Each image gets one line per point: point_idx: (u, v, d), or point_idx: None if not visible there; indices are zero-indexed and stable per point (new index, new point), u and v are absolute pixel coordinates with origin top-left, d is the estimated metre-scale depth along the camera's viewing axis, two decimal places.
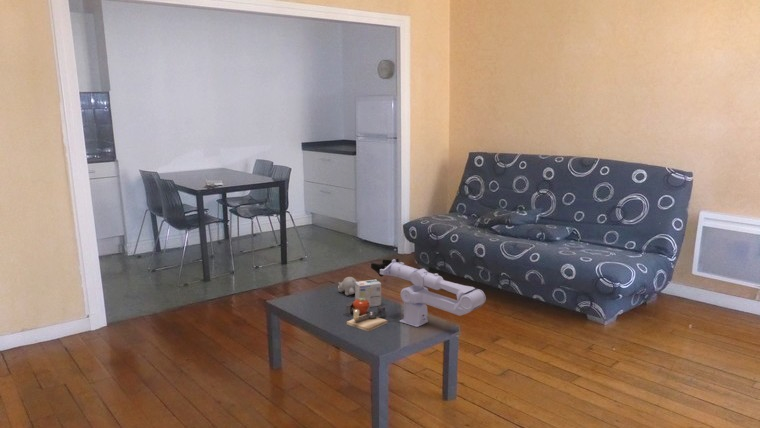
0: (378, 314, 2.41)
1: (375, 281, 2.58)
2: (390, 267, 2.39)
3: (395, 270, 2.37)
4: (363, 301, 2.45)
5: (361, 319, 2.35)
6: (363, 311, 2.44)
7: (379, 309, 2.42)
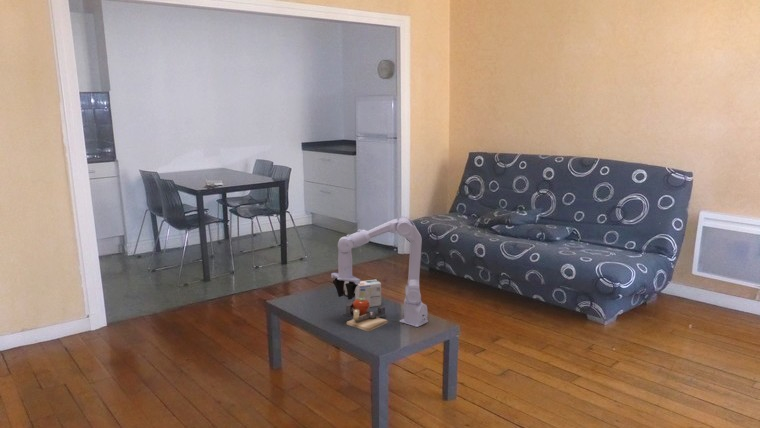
0: (378, 314, 2.41)
1: (375, 281, 2.58)
2: (347, 277, 2.33)
3: (348, 270, 2.32)
4: (363, 301, 2.45)
5: (361, 319, 2.35)
6: (363, 311, 2.44)
7: (379, 309, 2.42)
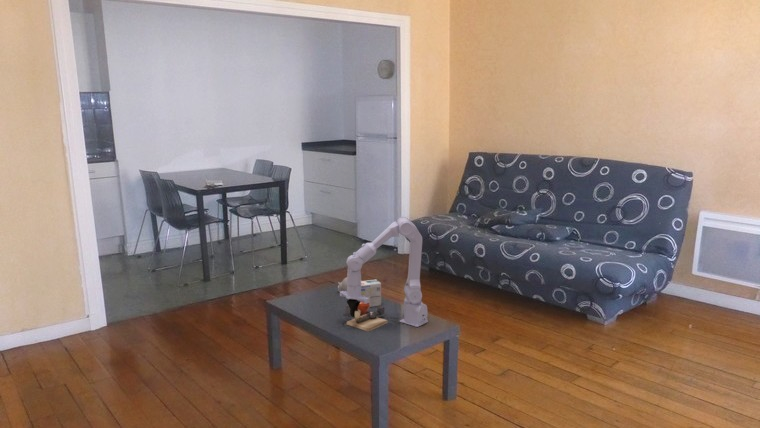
0: (378, 314, 2.41)
1: (375, 281, 2.58)
2: (356, 296, 2.31)
3: (357, 289, 2.30)
4: None
5: (362, 319, 2.35)
6: (363, 311, 2.44)
7: (379, 309, 2.42)
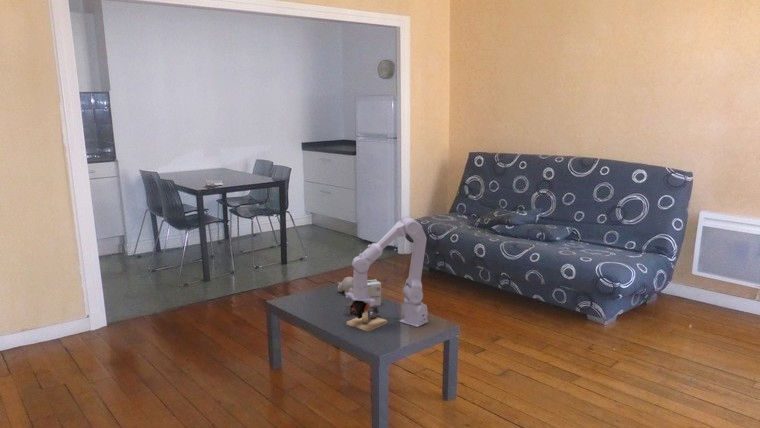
0: (375, 313, 2.42)
1: (375, 281, 2.58)
2: (363, 298, 2.29)
3: (364, 291, 2.28)
4: None
5: (368, 320, 2.34)
6: None
7: (375, 308, 2.43)
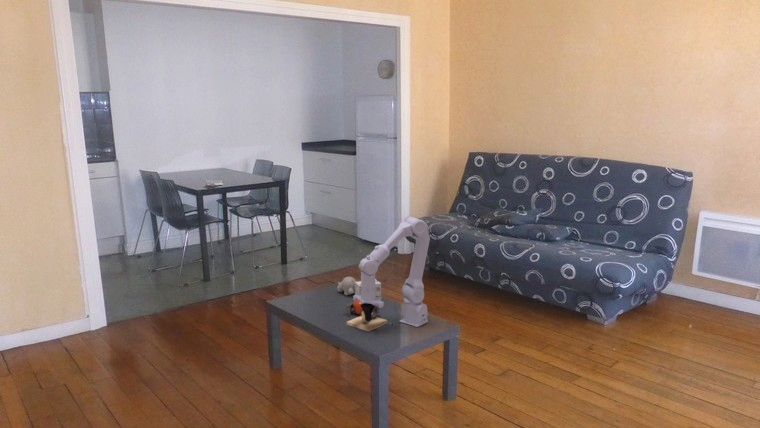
0: (375, 313, 2.42)
1: (375, 281, 2.58)
2: (371, 300, 2.26)
3: (372, 293, 2.26)
4: None
5: None
6: None
7: (375, 308, 2.43)
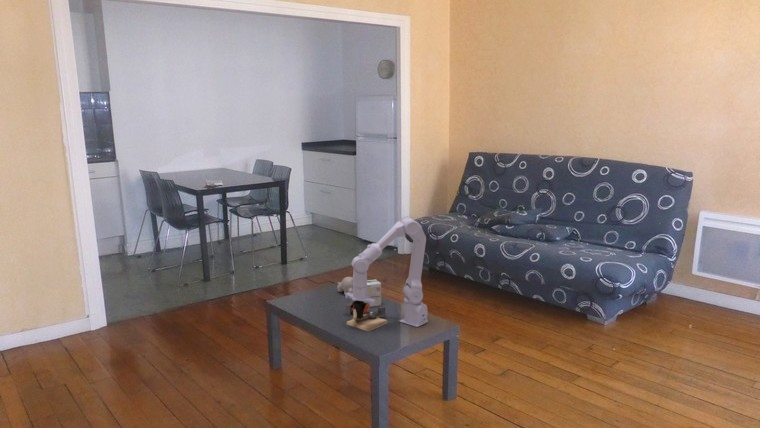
0: (378, 314, 2.41)
1: (375, 281, 2.58)
2: (362, 298, 2.29)
3: (363, 291, 2.28)
4: None
5: (361, 319, 2.35)
6: (363, 311, 2.44)
7: (379, 309, 2.42)
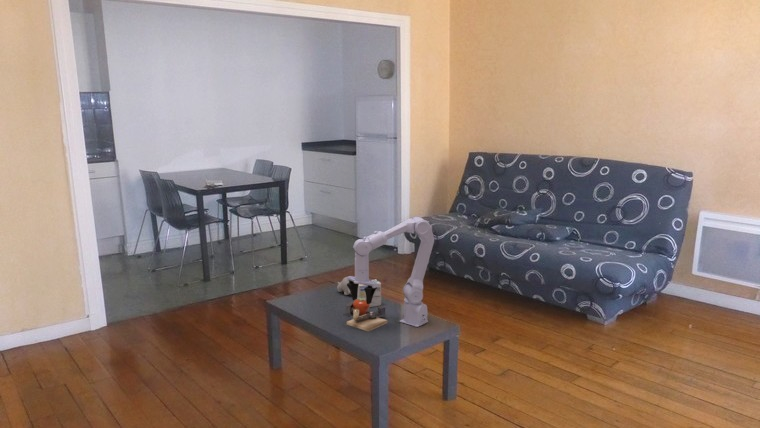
0: (378, 314, 2.41)
1: (375, 281, 2.58)
2: (364, 281, 2.28)
3: (365, 274, 2.28)
4: (363, 301, 2.45)
5: (361, 319, 2.35)
6: (363, 311, 2.44)
7: (379, 309, 2.42)
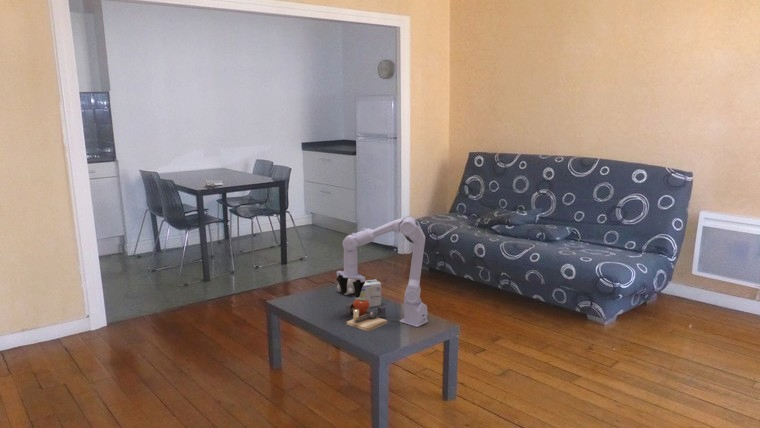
0: (378, 314, 2.41)
1: (375, 281, 2.58)
2: (353, 275, 2.36)
3: (354, 268, 2.35)
4: (363, 301, 2.45)
5: (361, 319, 2.35)
6: (363, 311, 2.44)
7: (379, 309, 2.42)
